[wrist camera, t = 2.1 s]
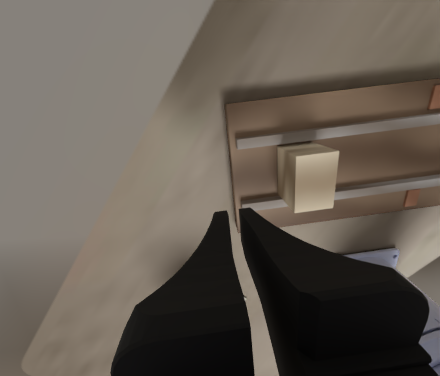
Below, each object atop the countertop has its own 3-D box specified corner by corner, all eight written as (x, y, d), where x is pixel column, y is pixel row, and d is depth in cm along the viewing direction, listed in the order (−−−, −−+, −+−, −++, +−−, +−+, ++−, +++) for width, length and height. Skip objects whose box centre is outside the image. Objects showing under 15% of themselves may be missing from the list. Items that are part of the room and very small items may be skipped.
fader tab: (309, 189, 19) (333, 208, 16) (277, 193, 19) (294, 213, 16) (312, 142, 17) (339, 150, 14) (277, 146, 17) (296, 156, 14)
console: (451, 195, 22) (477, 204, 20) (236, 225, 22) (239, 237, 20) (494, 71, 18) (533, 67, 16) (224, 104, 17) (227, 103, 15)
